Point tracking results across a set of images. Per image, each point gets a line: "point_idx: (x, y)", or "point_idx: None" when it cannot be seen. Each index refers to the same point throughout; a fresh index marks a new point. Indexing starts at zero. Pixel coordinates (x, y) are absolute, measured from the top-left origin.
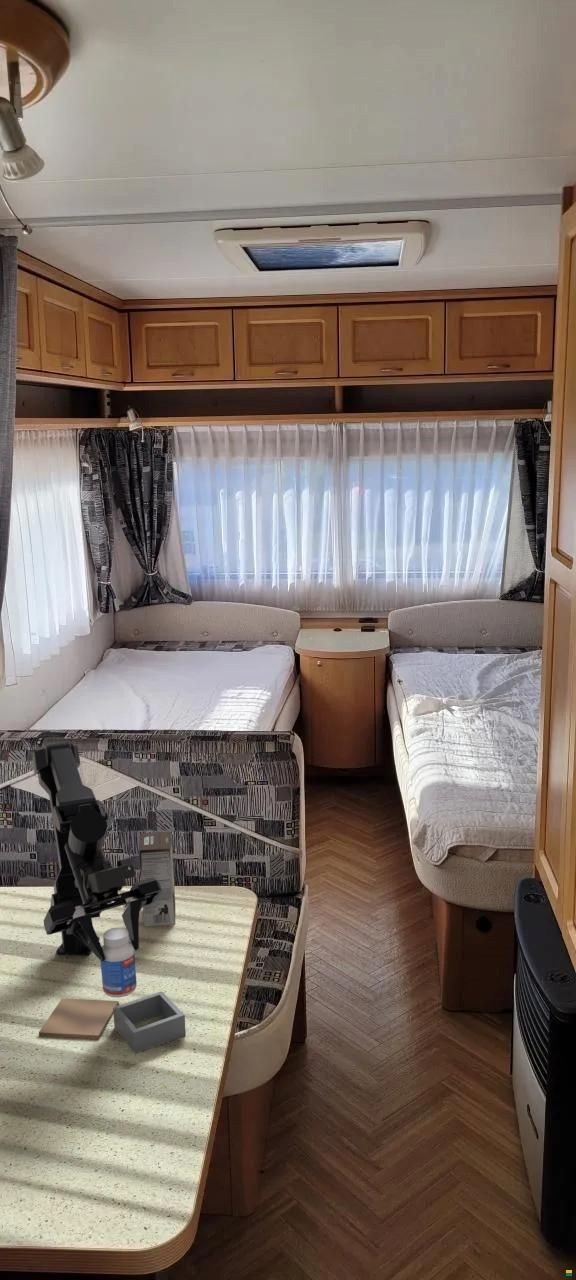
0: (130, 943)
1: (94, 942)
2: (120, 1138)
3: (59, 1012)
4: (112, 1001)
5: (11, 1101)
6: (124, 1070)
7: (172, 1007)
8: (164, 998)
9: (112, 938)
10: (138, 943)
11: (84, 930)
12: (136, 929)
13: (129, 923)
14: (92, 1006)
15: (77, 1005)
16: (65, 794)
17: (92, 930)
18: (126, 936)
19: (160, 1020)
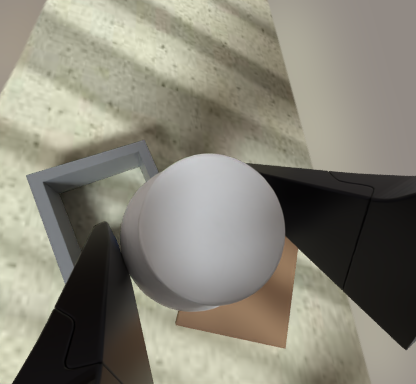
0: (134, 246)
1: (310, 170)
2: (165, 6)
3: (280, 295)
4: (188, 324)
5: (294, 104)
6: (161, 121)
7: (51, 211)
8: (66, 254)
9: (231, 168)
10: (90, 235)
11: (409, 177)
12: (78, 283)
13: (126, 354)
14: (225, 309)
15: (253, 317)
16: None
17: (364, 189)
18: (152, 183)
19: (86, 167)
